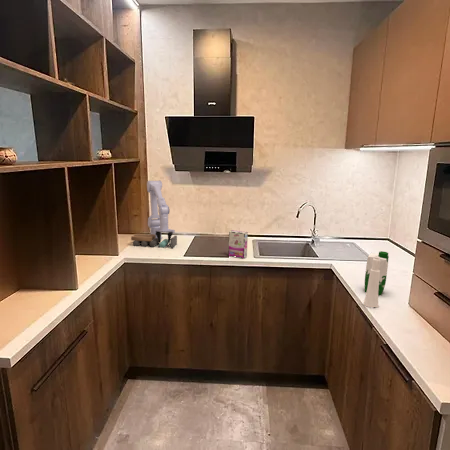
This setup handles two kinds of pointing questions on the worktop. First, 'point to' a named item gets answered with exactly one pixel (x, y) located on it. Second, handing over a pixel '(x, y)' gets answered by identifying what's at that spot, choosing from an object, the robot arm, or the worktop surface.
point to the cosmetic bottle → (373, 284)
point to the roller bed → (145, 243)
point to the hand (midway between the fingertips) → (164, 242)
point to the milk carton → (382, 267)
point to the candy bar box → (238, 243)
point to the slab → (143, 237)
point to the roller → (163, 243)
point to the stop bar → (173, 242)
